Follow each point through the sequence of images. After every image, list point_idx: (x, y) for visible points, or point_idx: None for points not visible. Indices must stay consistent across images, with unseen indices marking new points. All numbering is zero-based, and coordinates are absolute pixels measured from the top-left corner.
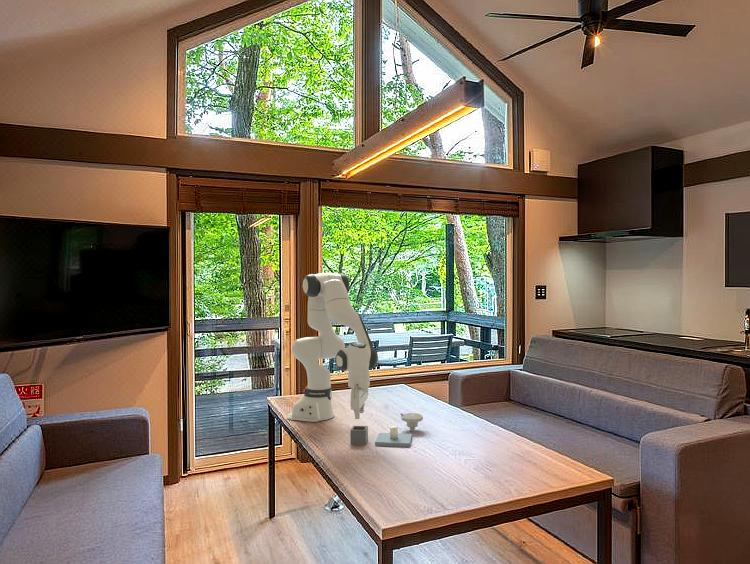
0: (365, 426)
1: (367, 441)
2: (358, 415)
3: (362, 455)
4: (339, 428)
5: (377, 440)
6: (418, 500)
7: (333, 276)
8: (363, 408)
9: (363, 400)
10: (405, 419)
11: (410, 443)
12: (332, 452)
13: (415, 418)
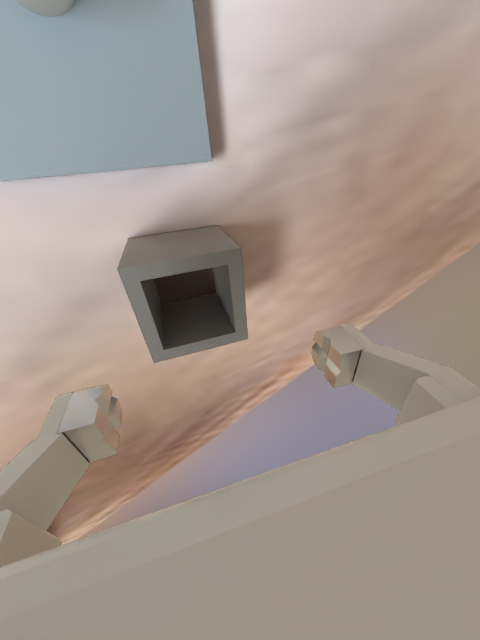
0: (137, 283)
1: (150, 235)
2: (370, 346)
3: (352, 194)
4: (18, 433)
5: (176, 149)
6: None
7: None
8: (61, 434)
9: (323, 581)
10: None
11: None
12: (317, 322)
13: None
